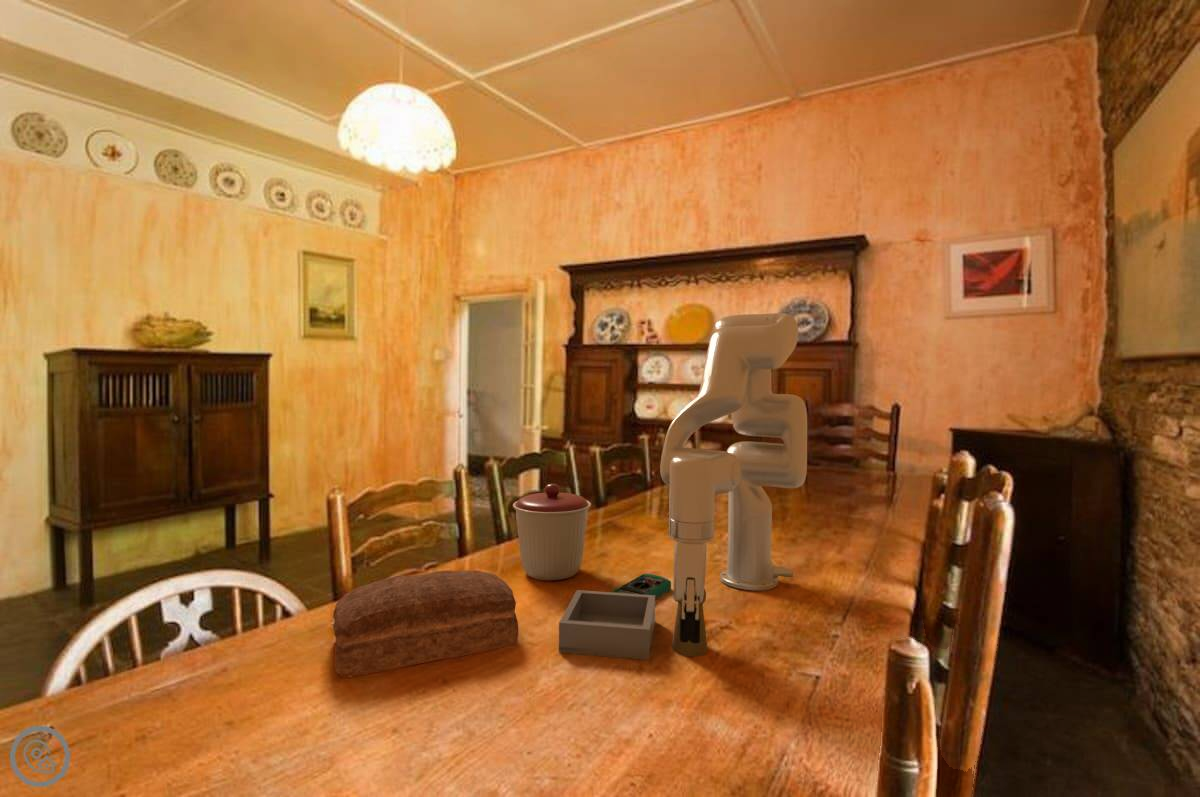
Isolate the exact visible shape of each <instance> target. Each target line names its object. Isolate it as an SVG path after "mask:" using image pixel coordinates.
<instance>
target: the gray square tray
mask: <svg viewBox="0 0 1200 797" xmlns="http://www.w3.org/2000/svg"><path fill="white" fill-rule="evenodd" d="M655 625H656V599H655V595H642V594H627V593H613V592H612V591H610V592H609V591H608V592H607V591H596V590H594V591H593V590H582V589H581V590H579V589H577V590H576V591H575V593H574V594H573V596H572V598H571V601H570V602H569V603H568V605H567V607H566V609H565V611H564V613H563V615H562V617H561V619H560V621H559V622H558V653H562V654H564V653H565V654H572V655H573V654H575V655H587V656H598V657H607V658H609V657H612V658H619V659H634V660H645V661H650V657H651V651H652V644H653V643H652V642H653V636H654V632H655V631H654V630H655Z"/></svg>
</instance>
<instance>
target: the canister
mask: <svg viewBox="0 0 1200 797" xmlns="http://www.w3.org/2000/svg"><path fill="white" fill-rule="evenodd" d="M591 506H592V503H591V502H590V501H589V500H587V499H586V498H584V496H581V495H578V494H574V493H569V492H561V487H560V486H559V485H558V484H557V483H549V484H546V485H545V487H544V492H537V493H530V494H528V495H525V496H522V497H521V498H519V499H518V500H517V501H515V502H513V504H512V508H513V509H514V510H515V514H516V515H515V516H516V528H517V535H518V543H519V544H518V545H519V552H520V553H519V554H520V559H521V560H520V561H521V565H522V568H523V571H524V572H525V574H526V575H528V576H529V577H531V578H533V579H536V580H542V581H560V580H564V579H568V578H571V577H574V576H575V575H576V574H577V573H578V572H579V570H580V569H581V566H582V560H583V555H584V548H585V541H586V532H587V531H586V530H587V525H588V524H587V523H588V515H589V514H588V513H589V509H590V508H591Z"/></svg>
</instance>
